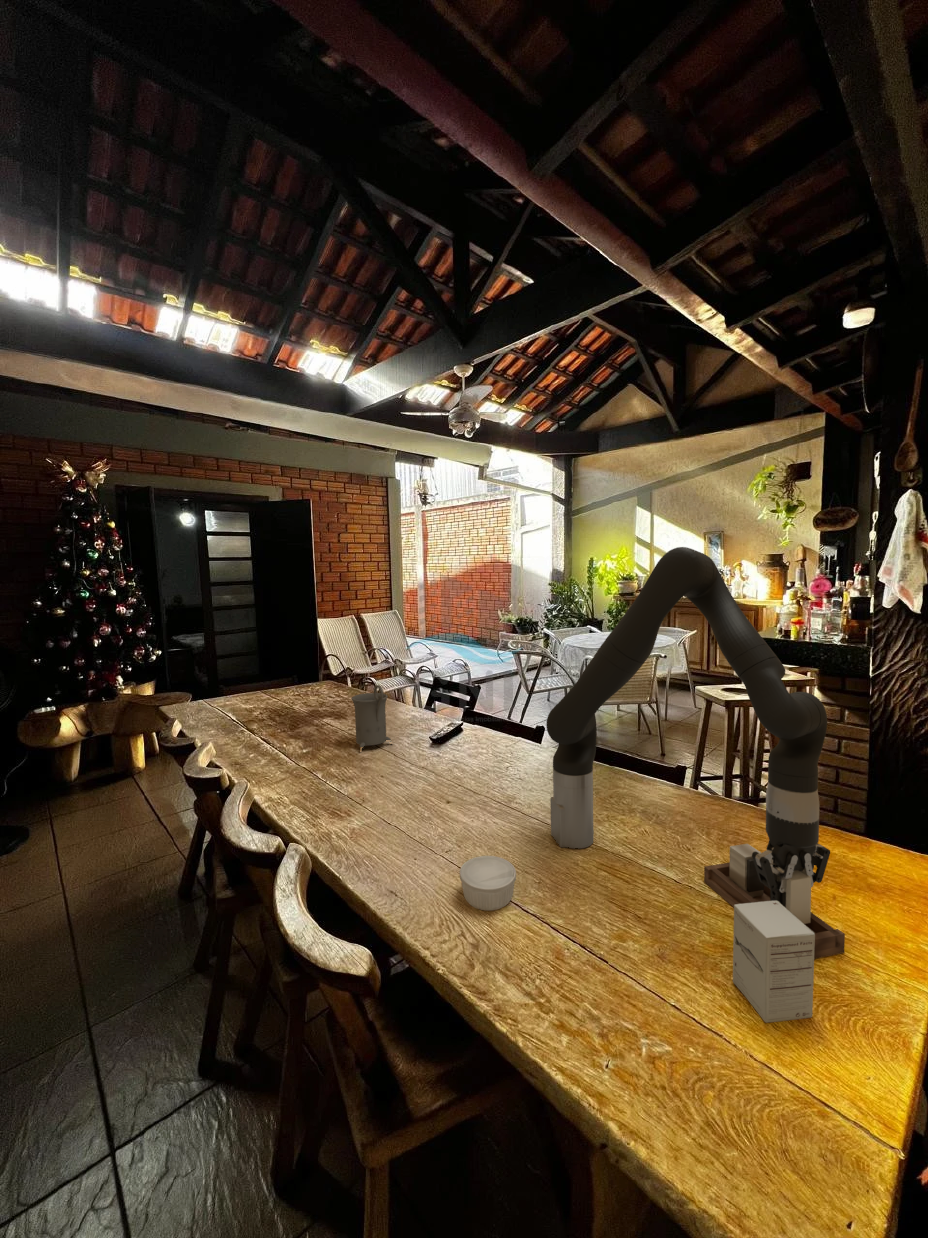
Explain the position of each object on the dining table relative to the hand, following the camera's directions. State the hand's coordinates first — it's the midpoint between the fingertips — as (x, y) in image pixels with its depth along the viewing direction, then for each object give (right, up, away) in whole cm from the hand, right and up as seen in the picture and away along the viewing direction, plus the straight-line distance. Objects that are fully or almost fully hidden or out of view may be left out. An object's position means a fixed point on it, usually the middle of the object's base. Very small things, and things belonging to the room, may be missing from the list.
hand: (790, 906), depth 85 cm
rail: (-1, -4, +5) cm, 7 cm away
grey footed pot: (-91, 0, +105) cm, 139 cm away
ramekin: (-51, -5, +13) cm, 53 cm away
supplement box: (-11, -6, -13) cm, 18 cm away
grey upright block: (0, -2, 0) cm, 2 cm away
